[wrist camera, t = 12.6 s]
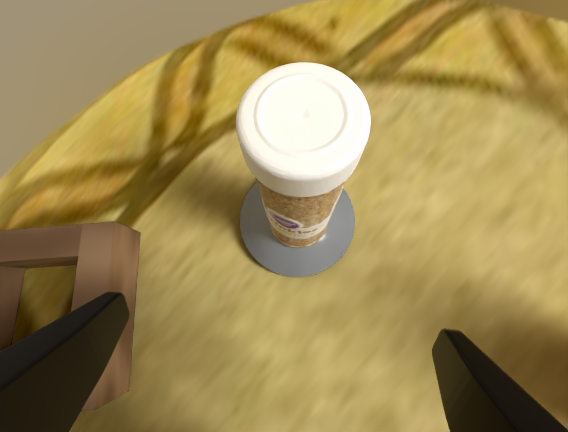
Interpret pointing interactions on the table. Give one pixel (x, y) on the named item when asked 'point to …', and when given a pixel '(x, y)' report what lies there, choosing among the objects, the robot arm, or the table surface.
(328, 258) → the slate coaster
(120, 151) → the table surface
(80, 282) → the walnut caddy
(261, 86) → the sprinkles bottle
